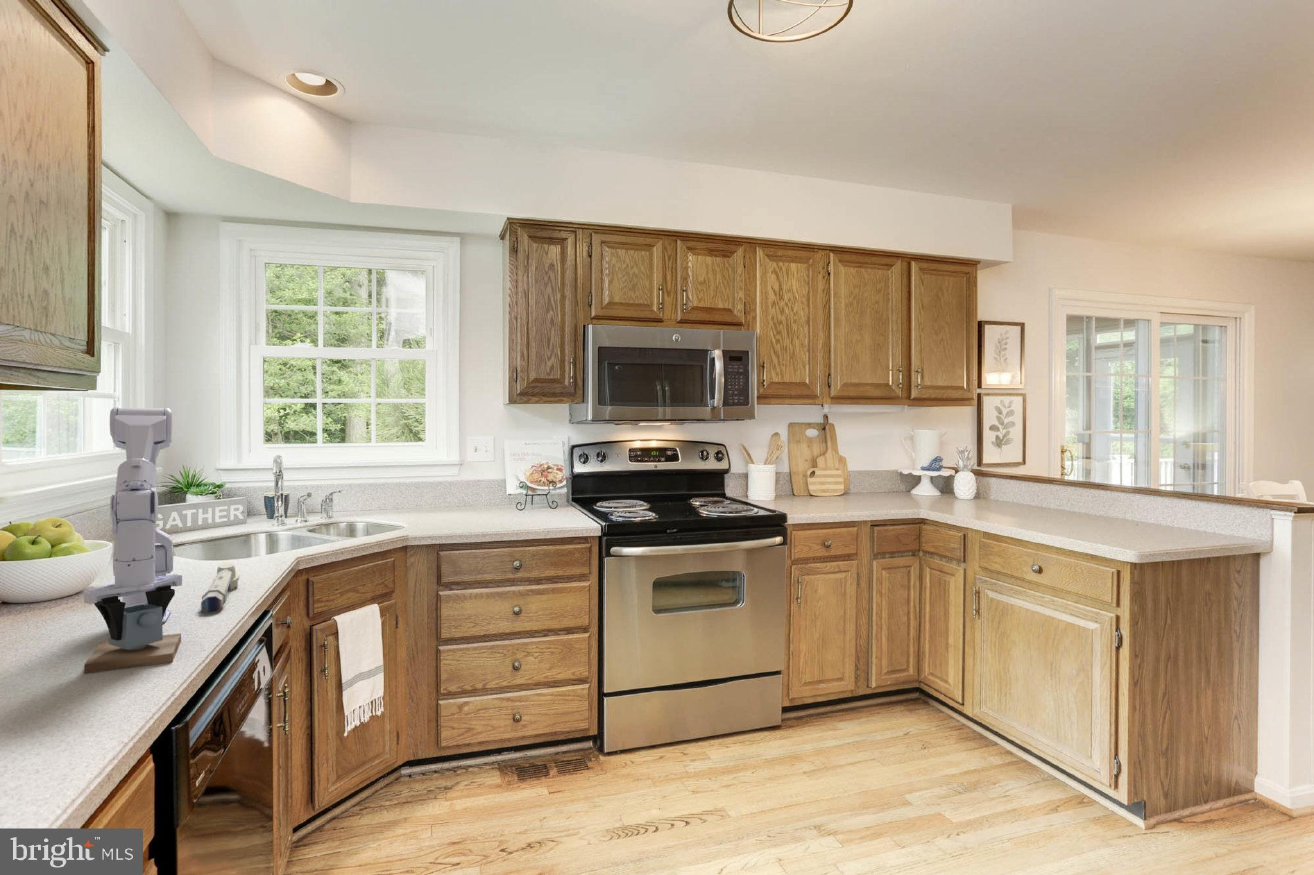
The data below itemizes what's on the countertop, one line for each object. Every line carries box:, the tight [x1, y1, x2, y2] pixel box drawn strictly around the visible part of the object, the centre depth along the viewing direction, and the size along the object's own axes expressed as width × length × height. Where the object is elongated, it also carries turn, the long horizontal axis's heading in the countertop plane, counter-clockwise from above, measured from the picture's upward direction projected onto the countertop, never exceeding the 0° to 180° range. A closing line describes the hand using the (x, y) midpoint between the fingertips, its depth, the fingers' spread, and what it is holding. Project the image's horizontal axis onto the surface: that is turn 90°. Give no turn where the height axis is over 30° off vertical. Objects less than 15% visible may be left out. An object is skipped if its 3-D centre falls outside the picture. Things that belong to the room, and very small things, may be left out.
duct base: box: [83, 633, 182, 674], centre depth 122 cm, size 12×12×5 cm
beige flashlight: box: [200, 562, 240, 614], centre depth 160 cm, size 5×7×25 cm
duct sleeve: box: [108, 603, 164, 650], centre depth 121 cm, size 8×6×6 cm
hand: (135, 634), depth 122 cm, fingers closed on duct sleeve, 5 cm apart
